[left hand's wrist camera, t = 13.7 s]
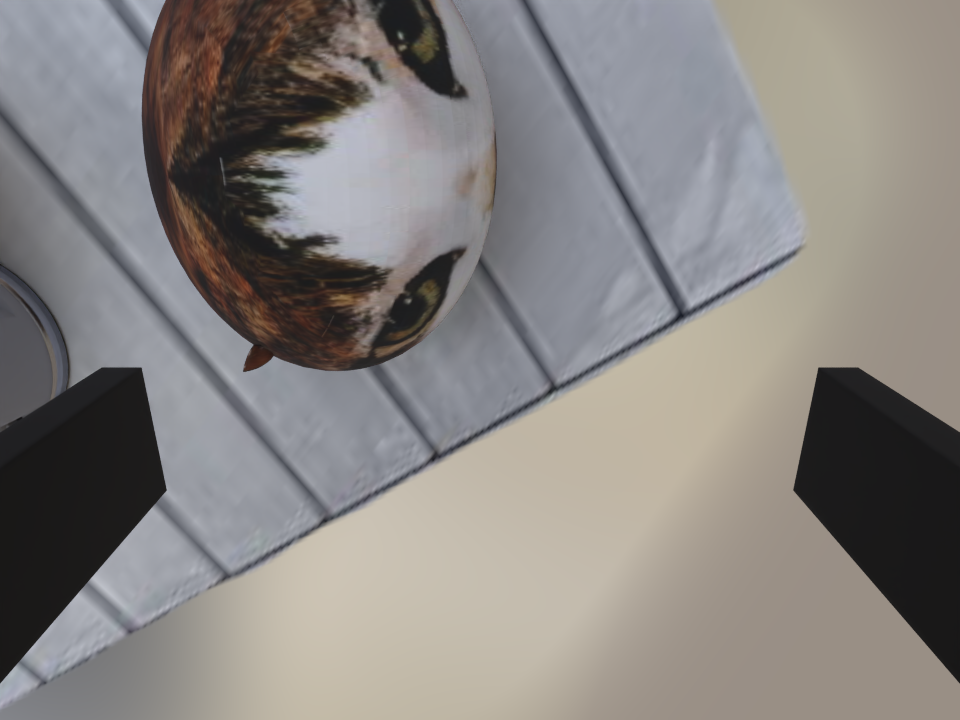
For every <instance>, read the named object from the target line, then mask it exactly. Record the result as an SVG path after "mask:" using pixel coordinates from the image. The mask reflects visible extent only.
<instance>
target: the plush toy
mask: <svg viewBox="0 0 960 720" xmlns="http://www.w3.org/2000/svg"><path fill="white" fill-rule="evenodd" d="M142 129H143V143H144V154H145V160H146V166H147V173H148V177H149V182H150V186H151V191H152V194H153V197H154V201H155V204H156V208H157V211H158V214H159V217H160V219H161V222H162V225H163V227H164V230H165V233H166V235H167V237H168V240H169V242H170V244H171V246H172V248H173V250H174V252H175V254H176V256H177V258H178V260H179V262H180V264H181V265H182V267H183V269H184V270H185V272H186V274H187V275H188V277H189V279H190V280H191V282H192V283H193V284H194V286H195V287H196V289H197V290H198V291H199V293H200V294H201V295H202V297H203V298H204V299H205V300H206V302H207V303H208V304H209V305H210V307H211V308H212V309H213V310H214V311H215V312H216V313H217V314H218V315H219V316H220V317H221V318H222V319H223V320H224V321H225V322H226V323H227V324H228V325H229V326H230V327H232V328H233V329H234V330H235V331H236V332H237V333H239V334H240V335H241V336H242V337H244V338H245V339H246V340H248V341H249V342H251V343H252V344H254V345H253V347H252V348H251V350H250V352H249V353H248V356H247V358H246V361H245V365H244V370H243V372H246V371H250V370H254V369H257V368H259V367H261V366H263V365H264V364H266V363H267V362H268V361H269V360H271V359H272V357H273V356H275V357H277V358H279V359H281V360H284V361H287V362H290V363H293V364H296V365H299V366H302V367H307V368H313V369H319V370H325V371H348V370H355V369H362V368H366V367H370V366H374V365H377V364H381V363H383V362H385V361H388V360H390V359H392V358H394V357H396V356H399V355H401V354H403V353H404V352H406V351H407V350H409V349H410V348H412V347H413V346H415V345H416V344H418V343H419V342H421V341H422V340H423V339H424V338H425V337H426V336H427V335H428V334H429V333H431V332H432V331H433V330H434V329H435V328H436V327H437V326H438V325H439V324H440V323H441V322H442V320H443V319H444V318H445V317H446V316H447V314H448V313H449V312H450V311H451V309H452V308H453V307H454V305H455V304H456V302H457V301H458V299H459V298H460V296H461V295H462V293H463V291H464V289H465V288H466V286H467V284H468V282H469V280H470V278H471V277H472V275H473V272H474V270H475V268H476V265H477V263H478V260H479V258H480V255H481V252H482V249H483V246H484V243H485V240H486V237H487V233H488V229H489V225H490V221H491V215H492V210H493V204H494V195H495V186H496V159H497V150H496V133H495V125H494V117H493V110H492V104H491V98H490V93H489V89H488V85H487V81H486V77H485V73H484V70H483V67H482V64H481V61H480V58H479V55H478V53H477V50H476V47H475V45H474V42H473V40H472V37H471V35H470V32H469V30H468V28H467V26H466V24H465V22H464V20H463V18H462V16H461V14H460V12H459V11H458V9H457V8H456V6H455V4H454V3H453V1H452V0H166V1H165V3H164V5H163V8H162V10H161V13H160V15H159V17H158V20H157V23H156V26H155V29H154V32H153V36H152V40H151V44H150V48H149V52H148V56H147V61H146V68H145V75H144V84H143V94H142Z"/></svg>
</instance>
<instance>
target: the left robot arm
mask: <svg viewBox="0 0 960 720" xmlns="http://www.w3.org/2000/svg"><path fill="white" fill-rule="evenodd" d="M67 381H68V359H67V353H66V349H65V345H64V341H63V339H62V336H61V333H60V331H59V329H58V327H57V325H56V323H55V321H54V319H53V317H52V316H51V314H50V312H49V311H48V309H47V308H46V307H45V305H44V304H43V303H42V301H41V300H40V299H39V298H38V297H37V295H36V294H35V293H34V292H33V291H32V290H31V289H30V288H29V287H28V286H27V285H26V284H25V283H24V282H23V281H21V280H20V279H19V278H18V277H17V276H15V275H14V274H13V273H11V272H10V271H9V270H7V269H6V268H4V267H3V266H1V265H0V683H1V682H2V681H3V680H4V678H5V677H6V676H7V675H8V674H9V673H10V671H11V670H12V669H13V668H14V667H15V666H16V664H17V663H18V662H19V661H20V660H21V659H22V658H23V656H24V655H25V654H26V653H27V652H28V651H29V649H30V648H31V647H32V646H33V645H34V644H35V642H36V641H37V640H38V639H39V638H40V637H41V635H42V634H43V633H44V632H45V631H46V630H47V629H48V627H49V626H50V625H51V624H52V623H53V622H54V620H55V619H56V618H57V617H58V616H59V615H60V613H61V612H62V611H63V610H64V609H65V608H66V606H67V605H68V604H69V603H70V602H71V601H72V600H73V598H74V597H75V596H76V595H77V594H78V593H79V591H80V590H81V589H82V588H83V587H84V586H85V584H86V583H87V582H88V581H89V580H90V579H91V577H92V576H93V575H94V574H95V573H96V572H97V571H98V569H99V568H100V567H101V566H102V565H103V564H104V562H105V561H106V560H107V559H108V558H109V557H110V555H111V554H112V553H113V552H114V551H115V550H116V548H117V547H118V546H119V545H120V544H121V543H122V542H123V540H124V539H125V538H126V537H127V536H128V535H129V533H130V532H131V531H132V530H133V529H134V528H135V526H136V525H137V524H138V523H139V522H140V521H141V519H142V518H143V517H144V516H145V515H146V514H147V512H148V511H149V510H150V509H151V508H152V507H153V506H154V504H155V503H156V502H157V501H158V500H159V499H160V497H161V496H162V495H163V494H164V493H165V492H166V490H167V489H166V484H165V480H164V475H163V470H162V465H161V460H160V455H159V450H158V446H157V441H156V436H155V431H154V426H153V421H152V416H151V412H150V407H149V402H148V397H147V392H146V387H145V382H144V378H143V373H142V368H101V369H99V370H97V371H96V372H94V373H93V374H91V375H90V376H88V377H86V378H85V379H83V380H82V381H80V382H79V383H77V384H75V385H74V386H72V387H71V388H69V389H68V390H66V387H67ZM65 390H66V391H65ZM793 490H794V492H795V493H796V494H797V495H798V496H799V497H800V499H801V500H802V501H803V502H804V503H805V504H806V506H807V507H808V508H809V509H810V510H811V511H812V512H813V514H814V515H815V516H816V517H817V518H818V519H819V521H820V522H821V523H822V524H823V525H824V526H825V528H826V529H827V530H828V531H829V532H830V533H831V535H832V536H833V537H834V538H835V539H836V540H837V542H838V543H839V544H840V545H841V546H842V547H843V548H844V550H845V551H846V552H847V553H848V554H849V555H850V557H851V558H852V559H853V560H854V561H855V562H856V563H857V565H858V566H859V567H860V568H861V569H862V571H863V572H864V573H865V574H866V575H867V576H868V577H869V579H870V580H871V581H872V582H873V583H874V584H875V586H876V587H877V588H878V589H879V590H880V591H881V593H882V594H883V595H884V596H885V597H886V598H887V600H888V601H889V602H890V603H891V604H892V605H893V606H894V608H895V609H896V610H897V611H898V612H899V613H900V615H901V616H902V617H903V618H904V619H905V620H906V622H907V623H908V624H909V625H910V626H911V627H912V628H913V630H914V631H915V632H916V633H917V634H918V635H919V637H920V638H921V639H922V640H923V641H924V642H925V644H926V645H927V646H928V647H929V648H930V649H931V650H932V652H933V653H934V654H935V655H936V656H937V658H938V659H939V660H940V661H941V662H942V663H943V664H944V666H945V667H946V668H947V669H948V670H949V671H950V673H951V674H952V675H953V676H954V677H955V678H956V680H957V681H958V682H959V683H960V432H958V431H957V430H955V429H954V428H952V427H950V426H949V425H947V424H946V423H944V422H943V421H941V420H939V419H938V418H936V417H935V416H933V415H932V414H930V413H929V412H927V411H925V410H924V409H922V408H921V407H919V406H918V405H916V404H914V403H913V402H911V401H910V400H908V399H907V398H905V397H903V396H902V395H900V394H899V393H897V392H896V391H894V390H892V389H891V388H889V387H888V386H886V385H885V384H883V383H881V382H880V381H878V380H877V379H875V378H874V377H872V376H870V375H869V374H867V373H866V372H864V371H863V370H861V369H859V368H818V373H817V378H816V382H815V387H814V392H813V397H812V402H811V407H810V412H809V416H808V421H807V426H806V431H805V436H804V441H803V446H802V450H801V455H800V460H799V465H798V470H797V475H796V480H795V484H794V489H793Z"/></svg>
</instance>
